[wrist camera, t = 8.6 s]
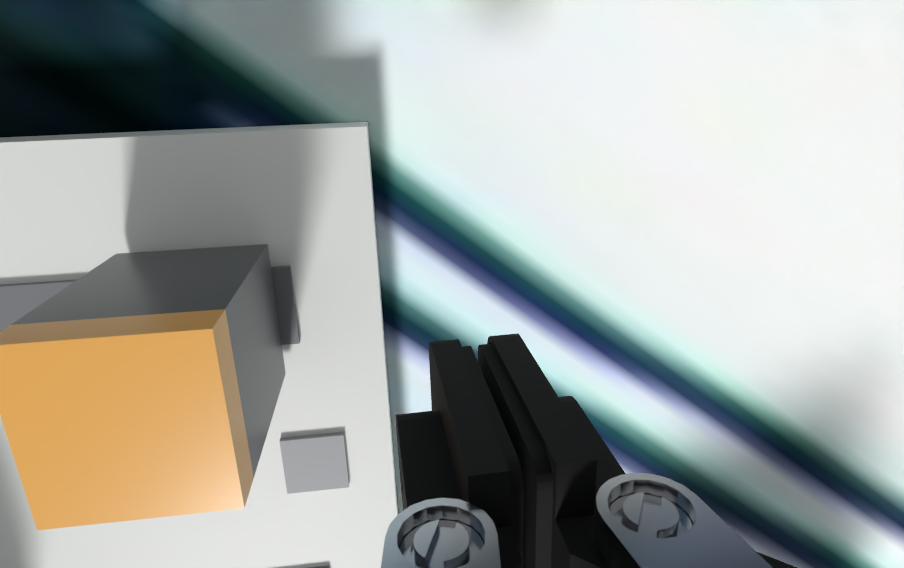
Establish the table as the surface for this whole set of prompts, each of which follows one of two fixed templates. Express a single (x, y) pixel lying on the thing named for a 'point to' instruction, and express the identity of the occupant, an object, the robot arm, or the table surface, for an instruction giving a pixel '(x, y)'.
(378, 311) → the breaker panel
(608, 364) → the table surface
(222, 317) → the handle
